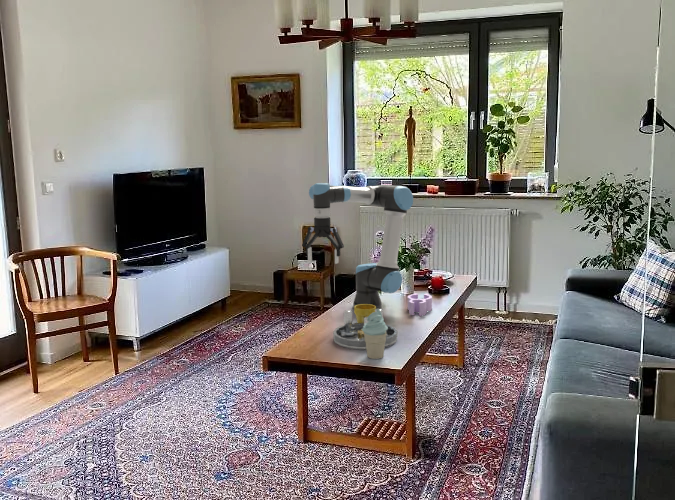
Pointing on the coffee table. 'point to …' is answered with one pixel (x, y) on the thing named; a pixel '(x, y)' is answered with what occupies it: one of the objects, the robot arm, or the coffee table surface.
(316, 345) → the coffee table surface
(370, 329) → the ice cream cone
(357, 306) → the plant pot
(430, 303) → the clip
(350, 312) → the grey round-based stand
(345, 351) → the coffee table surface
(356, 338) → the grey round tray
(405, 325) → the coffee table surface
